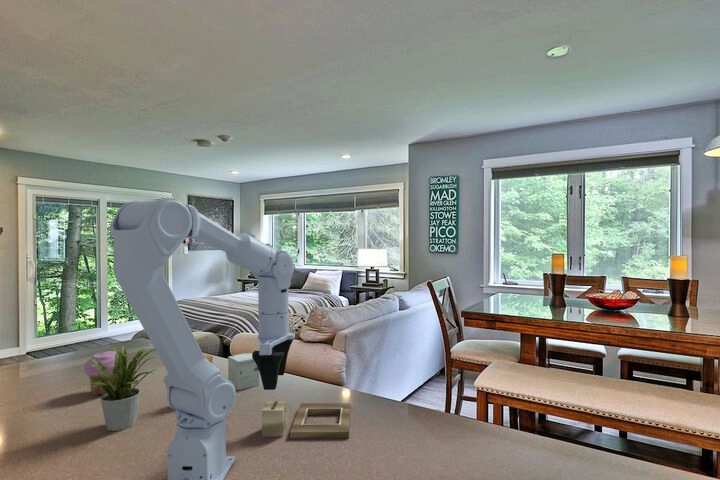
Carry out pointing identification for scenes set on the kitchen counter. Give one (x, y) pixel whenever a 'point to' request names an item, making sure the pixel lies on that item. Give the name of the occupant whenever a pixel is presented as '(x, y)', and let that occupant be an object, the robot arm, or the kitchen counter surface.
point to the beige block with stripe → (274, 418)
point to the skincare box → (243, 371)
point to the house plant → (120, 390)
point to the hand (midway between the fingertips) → (274, 381)
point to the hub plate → (321, 430)
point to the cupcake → (91, 371)
